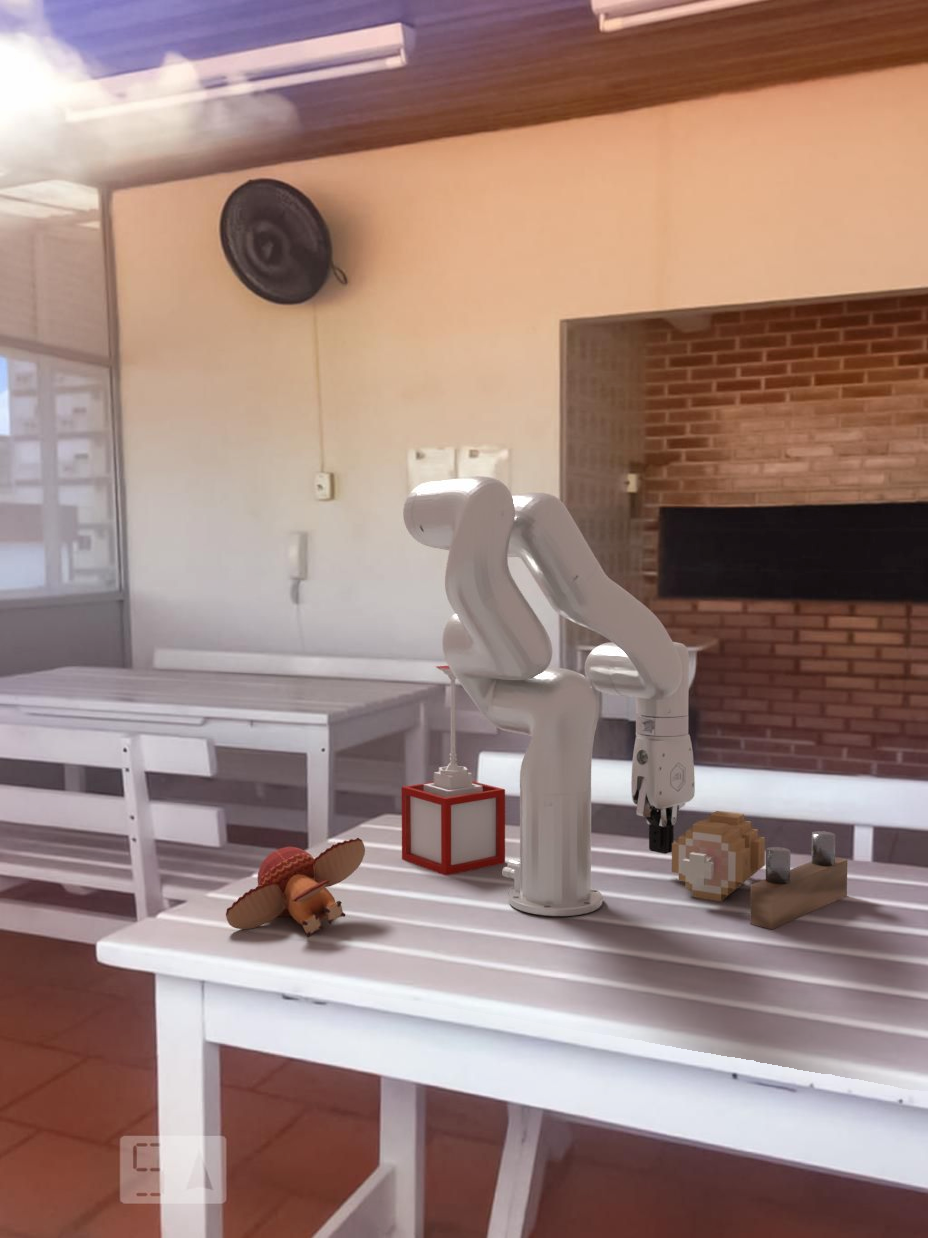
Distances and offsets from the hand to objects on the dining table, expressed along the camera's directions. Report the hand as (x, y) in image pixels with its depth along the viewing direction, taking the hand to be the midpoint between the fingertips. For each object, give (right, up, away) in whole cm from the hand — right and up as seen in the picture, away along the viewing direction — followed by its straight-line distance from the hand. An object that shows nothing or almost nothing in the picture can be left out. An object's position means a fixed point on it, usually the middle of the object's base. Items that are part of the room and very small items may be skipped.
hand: (661, 851), depth 159 cm
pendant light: (-31, -4, +8) cm, 32 cm away
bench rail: (+16, -4, -16) cm, 22 cm away
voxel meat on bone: (+7, -4, -7) cm, 10 cm away
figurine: (-50, -5, -20) cm, 54 cm away
